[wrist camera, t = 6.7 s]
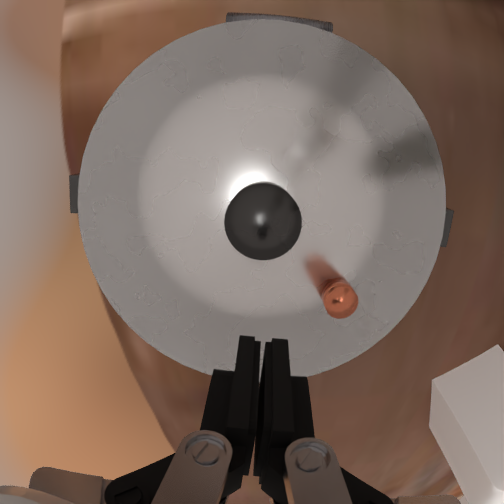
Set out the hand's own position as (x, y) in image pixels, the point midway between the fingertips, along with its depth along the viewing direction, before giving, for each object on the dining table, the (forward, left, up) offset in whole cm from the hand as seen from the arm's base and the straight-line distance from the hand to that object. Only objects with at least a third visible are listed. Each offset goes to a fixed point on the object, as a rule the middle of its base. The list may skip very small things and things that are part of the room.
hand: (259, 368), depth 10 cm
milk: (-32, +20, -17) cm, 41 cm away
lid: (0, -5, -6) cm, 8 cm away
